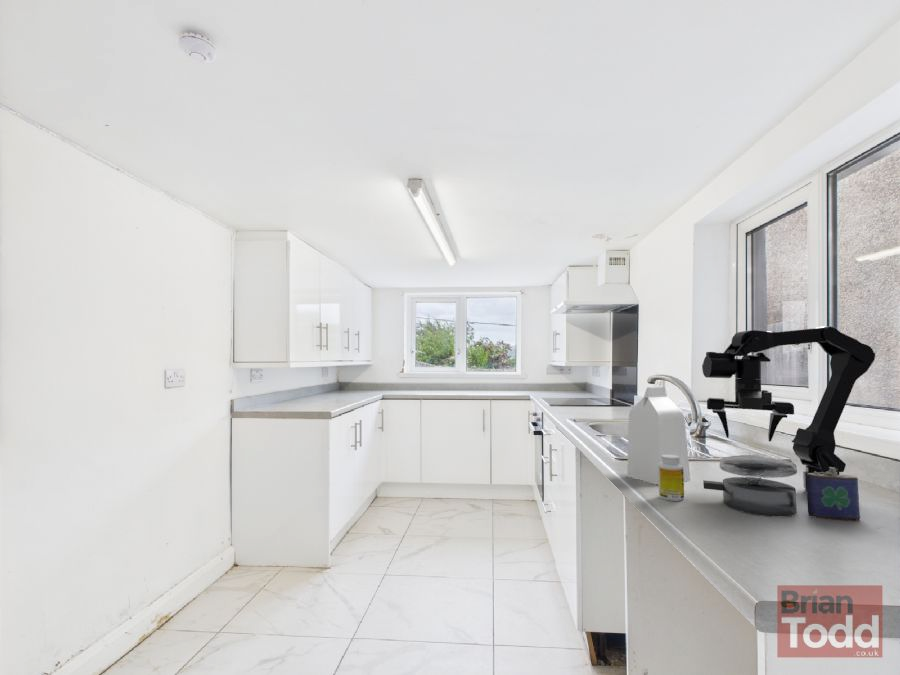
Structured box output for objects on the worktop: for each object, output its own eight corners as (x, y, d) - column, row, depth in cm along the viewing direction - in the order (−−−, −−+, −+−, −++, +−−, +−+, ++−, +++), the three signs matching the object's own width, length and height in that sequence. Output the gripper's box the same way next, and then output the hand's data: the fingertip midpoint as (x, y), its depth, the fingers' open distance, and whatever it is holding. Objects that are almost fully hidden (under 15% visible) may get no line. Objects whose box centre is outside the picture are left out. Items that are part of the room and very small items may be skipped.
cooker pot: (788, 500, 111) (787, 479, 112) (803, 520, 97) (802, 496, 98) (703, 491, 120) (702, 471, 120) (705, 508, 106) (704, 486, 106)
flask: (856, 517, 99) (853, 466, 100) (864, 522, 97) (861, 469, 97) (805, 514, 102) (803, 464, 102) (811, 518, 99) (809, 467, 100)
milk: (661, 485, 125) (658, 388, 127) (627, 476, 136) (625, 386, 137) (690, 480, 131) (687, 387, 132) (655, 472, 141) (653, 385, 143)
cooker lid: (791, 480, 110) (789, 468, 112) (802, 464, 99) (800, 451, 100) (718, 473, 117) (717, 462, 118) (720, 458, 105) (720, 445, 107)
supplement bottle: (687, 502, 110) (685, 458, 111) (662, 501, 112) (660, 457, 112) (680, 496, 116) (679, 454, 116) (656, 494, 117) (655, 453, 118)
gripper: (707, 378, 119) (707, 440, 118) (798, 381, 110) (798, 448, 109) (706, 377, 129) (706, 434, 128) (789, 380, 120) (790, 441, 119)
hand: (748, 439), depth 121 cm, fingers open, 9 cm apart
